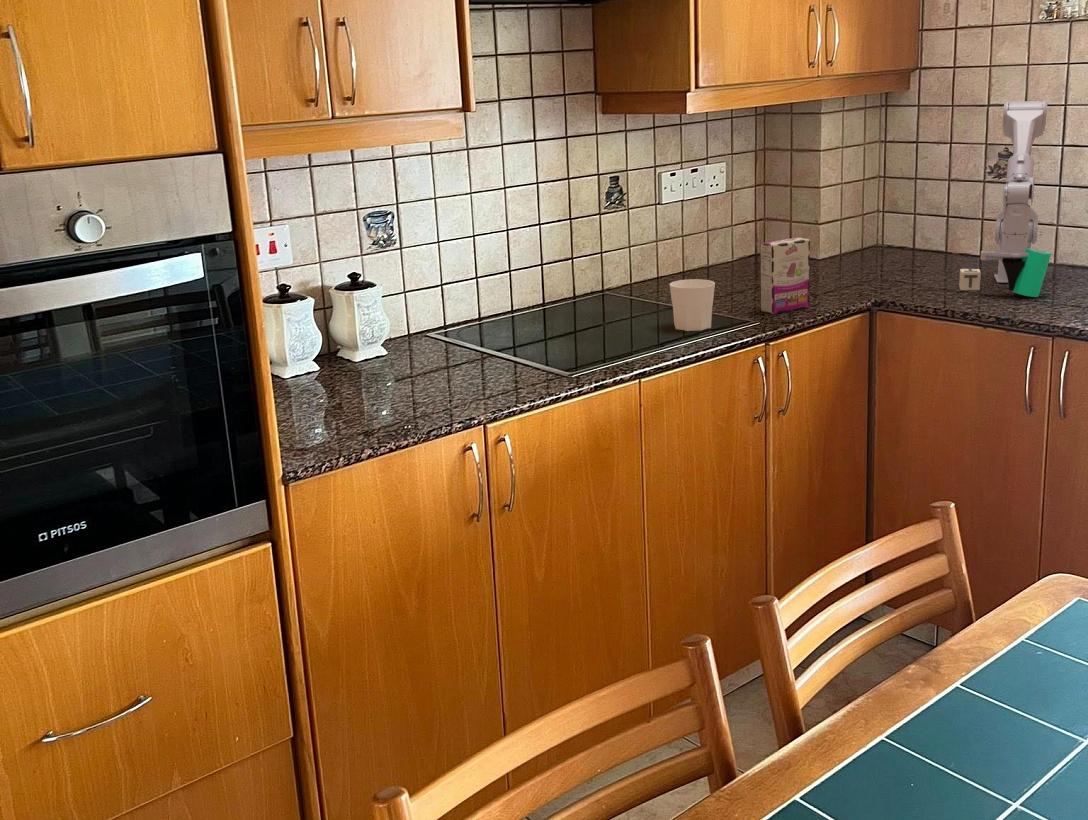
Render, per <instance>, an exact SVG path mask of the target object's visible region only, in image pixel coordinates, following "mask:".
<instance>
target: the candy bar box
mask: <svg viewBox="0 0 1088 820" xmlns="http://www.w3.org/2000/svg"><path fill="white" fill-rule="evenodd" d="M810 251H811V239H810V238H803V237H797V236H796V237H792V238H786V239H778V240H774V241H773V240H772V241H767V242H761V243H760V311H761V312H763V313H767V314H771V315H777V314H781V313H786V312H792V311H797V310H802V309H803V310H804V309H808V308H810V296H811V295H810V289H811V288H810V286H811V284H810V281H811V279H810V276H811V274H810V270H811V269H810V268H811V267H810V263H811V261H810V260H811V256H810V255H811V252H810Z"/></svg>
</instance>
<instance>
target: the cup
mask: <svg viewBox="0 0 1088 820" xmlns="http://www.w3.org/2000/svg"><path fill="white" fill-rule="evenodd" d="M715 284H716V283H715V282H714V280H709V279H695V278H693V279H679V280H674V281H672V282H670V283H669V290H670V297H671V304H672V310H673V311H672V313H673V323H674V325H673V326H674V327H675V330H681V331H685V332H690V331H691V332H692V331H694V332H695V331H698V332H699V331H700V332H701V331H703V330H706V329H712V318H713V317H712V315H713V304H714V295H715V287H716V285H715Z"/></svg>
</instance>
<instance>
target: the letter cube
mask: <svg viewBox="0 0 1088 820" xmlns="http://www.w3.org/2000/svg"><path fill="white" fill-rule="evenodd" d="M981 274H982V272H981V270H980V268H960V269H959V282H958V284H959V286H958V287H959V290H960V291H980V290H981Z"/></svg>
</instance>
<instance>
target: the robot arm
mask: <svg viewBox="0 0 1088 820" xmlns="http://www.w3.org/2000/svg"><path fill="white" fill-rule="evenodd" d="M1047 111H1048V102H1047V101H1046V100H1045V99H1043V100H1031V101H1030V100H1029V101H1005V102H1004V104H1003V111H1002V113H1003V114H1002V132H1003V136H1005V137H1007V138H1009V139H1010V140H1011V143H1012V146H1013V150H1012V151H1013V152H1012V156H1010V157H1009V158H1008V160H1007V171H1006V178H1005V179H1006V180H1005V183H1004V184H1003V193H1002V205H1003V208H1002V209H1001V210H1000V211H998V212H997V213H998V214H997V215H996V221H995V230H994V243H996V244H997V245H998V244H999V245H998V246H999V249H997V250H995V249H994V250H981V251H980V260H981V261H987V260H988V261H995V260H996V261H998V269H997V273H994V275H993V276H994V279H995V280H996V283H1000V284H1001V283H1002V284H1003V283H1004V284H1007V283H1008V291H1011V292H1013V290H1014V286H1015V283H1016V280H1017V277H1018V275H1019V273H1020V271H1021V270H1022V268H1023V267H1024V264H1025V262H1024V261H1022V260H1023V257H1028V255H1029V253H1026V251H1027V248H1029V249H1031V247H1032V245H1035V244H1036V243H1037V240H1038V229H1039V226H1038V225H1039V220H1038V218H1039V214H1038V211H1036V210H1034V209H1033V208H1032V206H1033V202H1034V192H1035V190H1034V189H1035V183H1034V166H1035V165H1034V164H1035V159H1034V157H1032V147H1033V144H1034V142H1035V139H1036V138H1038V137H1039V138H1040V137H1041V136H1043V135H1044V132H1045V129H1046V125H1047V115H1048V113H1047ZM1029 200H1030V205H1029ZM1033 250H1034V249H1031V251H1033ZM1034 252H1038V253H1041V254H1048V252H1049V251H1047V250H1042V251H1034Z"/></svg>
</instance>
